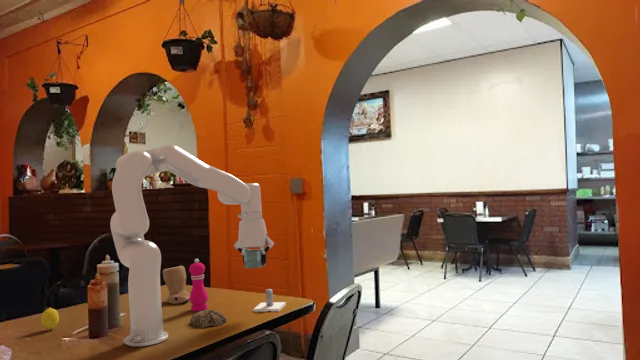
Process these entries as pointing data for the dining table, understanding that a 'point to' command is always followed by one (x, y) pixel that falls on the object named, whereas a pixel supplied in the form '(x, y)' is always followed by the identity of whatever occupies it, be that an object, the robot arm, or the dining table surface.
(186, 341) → the dining table surface
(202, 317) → the bread roll
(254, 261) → the collar
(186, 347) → the dining table surface
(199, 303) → the pepper mill
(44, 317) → the lemon
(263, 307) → the shaft base
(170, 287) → the beige hollow piece
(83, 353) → the dining table surface
